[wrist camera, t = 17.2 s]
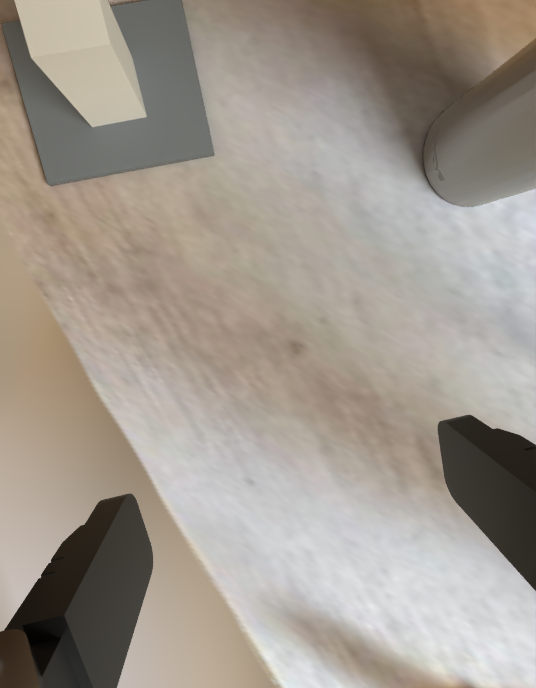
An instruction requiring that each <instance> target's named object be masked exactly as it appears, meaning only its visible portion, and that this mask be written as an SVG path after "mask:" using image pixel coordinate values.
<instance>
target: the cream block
mask: <svg viewBox="0 0 536 688" xmlns="http://www.w3.org/2000/svg"><path fill="white" fill-rule="evenodd" d="M14 1H15V4H16V8H17V11H18V15H19V18H20V22H21V25H22V28H23V32H24V35H25V39H26V42H27V46H28V49H29V53H30V56H31V58H32V60H33V61H34V62H35V63H36V64H37V65H38V66H39V67H40V69H41V70H42V71H43V72H44V73H45V74H46V75H47V77H48V78H49V79H50V80H51V81H52V82H53V83H54V84H55V86H56V87H57V88H58V89H59V90H60V91H61V92H62V94H63V95H64V96H65V97H66V98H67V99H68V100H69V101H70V103H71V104H72V105H73V106H74V107H75V108H76V109H77V110H78V112H79V113H80V114H81V115H82V116H83V117H84V118H85V120H86V121H87V122H88V123H89V124H90V125H91V126H92V127H96V126H102V125H107V124H112V123H118V122H123V121H128V120H134V119H139V118H145V117H147V115H146V111H145V107H144V103H143V99H142V95H141V91H140V87H139V83H138V79H137V75H136V71H135V67H134V63H133V59H132V56H131V53H130V51H129V49H128V47H127V44H126V42H125V40H124V37H123V35H122V33H121V30H120V28H119V26H118V23H117V21H116V19H115V16H114V14H113V12H112V9H111V7H110V5H109V3H108V0H14Z"/></svg>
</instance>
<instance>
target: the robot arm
mask: <svg viewBox="0 0 536 688" xmlns="http://www.w3.org/2000/svg"><path fill="white" fill-rule="evenodd" d="M423 158H424V168H425V172H426V176H427V178H428V180H429V182H430V184H431V186H432V187H433V189H434V190H435V191H436V193H437V194H438V195H440V196H441V197H442V198H443V199H444V200H446V201H448V202H450V203H452V204H454V205H458V206H462V207H474V206H478V205H483V204H486V203H489V202H493V201H496V200H499V199H502V198H506V197H509V196H513V195H516V194H519V193H523V192H526V191H529V190H532V189H536V38H535V39H534V40H533V41H532V42H530V43H529V44H528V45H527V46H525V47H524V48H523V49H522V50H520V51H519V52H518V53H517V54H515V55H514V56H513V57H512V58H510V59H509V60H508V61H507V62H505V63H504V64H503V65H502V66H500V67H499V68H498V69H497V70H495V71H494V72H493V73H491V74H490V75H489V76H488V77H486V78H485V79H484V80H483V81H481V82H480V83H479V84H478V85H476V86H475V87H474V88H472V89H471V90H470V91H469V92H467V93H466V94H465V95H464V96H462V97H461V98H460V99H459V100H457V101H456V102H455V103H454V104H452V105H451V106H450V107H449V108H447V109H446V110H445V111H444V112H442V113H441V115H440V116H439V117H438V118H437V119H436V120H435V121H434V123H433V125H432V126H431V128H430V130H429V132H428V135H427V138H426V140H425V145H424V152H423ZM438 435H439V442H440V450H441V457H442V464H443V471H444V477H445V481H446V484H447V487H448V489H449V492H450V493H451V495H452V497H453V499H454V500H455V501H456V503H457V504H458V505H459V506H460V507H461V508H462V509H463V510H464V512H465V513H466V514H467V515H468V516H469V517H470V518H471V519H472V520H473V522H474V523H475V524H476V525H477V526H478V527H479V528H480V529H481V530H482V532H483V533H484V534H485V535H486V536H487V537H488V538H489V539H490V541H491V542H492V543H493V544H494V545H495V546H496V547H497V548H498V549H499V551H500V552H501V553H502V554H503V555H504V556H505V557H506V558H507V559H508V561H509V562H510V563H511V564H512V565H513V566H514V567H515V568H516V569H517V571H518V572H519V573H520V574H521V575H522V576H523V577H524V578H525V580H526V581H527V582H528V583H529V584H530V585H531V586H532V587H533V588H534V590H535V591H536V445H535V444H533V443H532V442H530V441H529V440H527V439H525V438H524V437H522V436H520V435H517V434H514V433H511V432H508V431H504V430H501V429H498V428H497V429H492V428H490V427H489V426H487V425H486V424H484V423H483V422H481V421H480V420H478V419H477V418H475V417H473V416H472V415H465V416H461V417H456V418H452V419H448V420H444V421H440V422H439V424H438ZM152 569H153V553H152V547H151V543H150V540H149V537H148V534H147V531H146V528H145V525H144V522H143V519H142V516H141V513H140V510H139V506H138V503H137V501H136V499H135V497H134V496H133V495H132V494H126V495H122V496H117V497H113V498H109V499H105V500H101V501H100V502H99V503H98V504H97V506H96V507H95V509H94V511H93V512H92V514H91V515H90V517H89V519H88V520H87V522H86V523H85V525H82V526H80V527H79V528H78V529H77V530H75V531H74V532H73V533H72V534H71V535H70V536H69V537H68V538H67V539H66V540H65V541H64V542H63V543H62V544H61V546H60V547H59V549H58V550H57V552H56V553H55V555H54V556H53V558H52V559H51V563H49V564H48V565H47V567H46V568H45V570H44V571H43V573H42V574H41V578H39V579H38V580H37V582H36V583H35V585H34V586H33V588H32V589H31V591H30V593H29V594H28V595H27V597H26V598H25V600H24V601H23V603H22V604H21V606H20V607H19V609H18V610H17V612H16V613H15V615H14V616H13V618H12V619H11V621H10V622H9V624H8V626H7V627H6V628H5V630H4V631H1V632H0V688H117V685H118V682H119V678H120V675H121V672H122V669H123V665H124V662H125V659H126V655H127V652H128V649H129V646H130V643H131V639H132V636H133V633H134V629H135V626H136V623H137V619H138V616H139V613H140V610H141V607H142V603H143V600H144V597H145V593H146V590H147V587H148V584H149V580H150V577H151V574H152Z"/></svg>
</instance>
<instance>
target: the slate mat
mask: <svg viewBox="0 0 536 688" xmlns="http://www.w3.org/2000/svg"><path fill="white" fill-rule="evenodd" d="M110 7H111V9H112V12H113V14H114V16H115V19H116V21H117V23H118V26H119V28H120V30H121V33H122V35H123V37H124V40H125V42H126V44H127V47H128V49H129V51H130V53H131V56H132V59H133V63H134V67H135V71H136V75H137V79H138V83H139V87H140V91H141V95H142V99H143V103H144V107H145V111H146V115H147V117H145V118H139V119H134V120H128V121H123V122H118V123H112V124H107V125H102V126H96V127H92V126H91V125H90V124H89V123H88V122H87V121H86V120H85V118H84V117H83V116H82V115H81V114H80V113H79V112H78V110H77V109H76V108H75V107H74V106H73V105H72V104H71V103H70V101H69V100H68V99H67V98H66V97H65V96H64V95H63V94H62V92H61V91H60V90H59V89H58V88H57V87H56V86H55V84H54V83H53V82H52V81H51V80H50V79H49V78H48V77H47V75H46V74H45V73H44V72H43V71H42V70H41V69H40V67H39V66H38V65H37V64H36V63H35V62H34V61H33V60H32V58H31V56H30V53H29V49H28V46H27V42H26V39H25V35H24V32H23V28H22V25H21V22H20V21H14V22H7V23H1V24H2V28H3V31H4V35H5V38H6V42H7V45H8V49H9V52H10V56H11V59H12V63H13V66H14V69H15V73H16V76H17V80H18V83H19V87H20V90H21V94H22V97H23V101H24V104H25V108H26V111H27V114H28V118H29V121H30V125H31V128H32V132H33V135H34V139H35V142H36V146H37V149H38V153H39V156H40V159H41V163H42V166H43V170H44V173H45V177H46V180H47V184H48V185H50V186H54V185H59V184H65V183H70V182H75V181H81V180H86V179H91V178H97V177H102V176H107V175H113V174H118V173H124V172H129V171H134V170H140V169H145V168H150V167H156V166H161V165H166V164H172V163H177V162H183V161H188V160H193V159H199V158H204V157H209V156H214V150H213V145H212V140H211V136H210V131H209V126H208V122H207V117H206V112H205V108H204V103H203V98H202V94H201V89H200V84H199V80H198V75H197V70H196V66H195V61H194V56H193V52H192V47H191V42H190V38H189V33H188V28H187V24H186V19H185V14H184V10H183V5H182V0H146V1H139V2H133V3H127V4H121V5H114V6H110Z"/></svg>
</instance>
